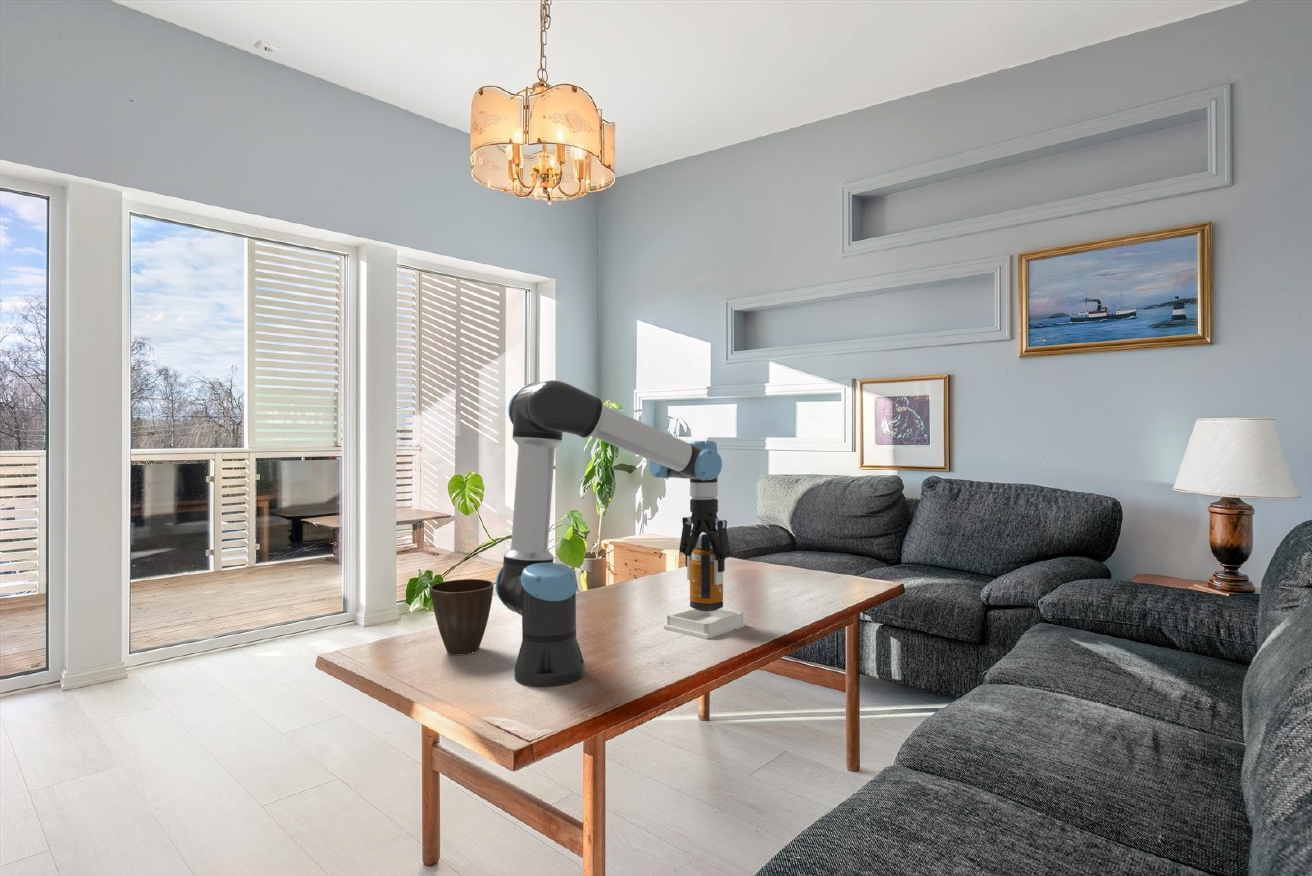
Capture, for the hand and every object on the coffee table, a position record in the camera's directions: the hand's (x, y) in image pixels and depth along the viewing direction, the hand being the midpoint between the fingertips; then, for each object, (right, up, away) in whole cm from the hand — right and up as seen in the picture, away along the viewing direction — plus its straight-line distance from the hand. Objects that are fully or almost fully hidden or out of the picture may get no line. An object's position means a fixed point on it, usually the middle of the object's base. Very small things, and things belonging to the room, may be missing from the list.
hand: (704, 581), depth 191 cm
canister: (0, -8, 0) cm, 8 cm away
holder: (0, -12, 0) cm, 12 cm away
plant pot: (-60, -13, -19) cm, 64 cm away
